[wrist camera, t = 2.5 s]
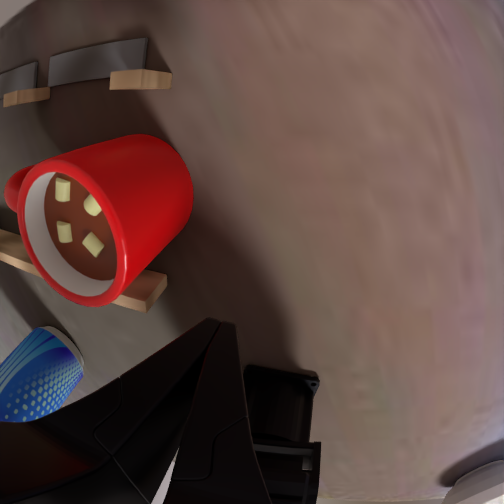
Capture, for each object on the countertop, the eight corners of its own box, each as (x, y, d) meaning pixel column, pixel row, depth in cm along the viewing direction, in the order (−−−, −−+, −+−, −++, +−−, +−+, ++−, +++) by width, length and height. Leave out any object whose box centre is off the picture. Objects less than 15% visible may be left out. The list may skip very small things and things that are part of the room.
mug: (64, 115, 18) (-20, 136, 11) (206, 150, 17) (136, 184, 10) (58, 208, 21) (-10, 250, 15) (181, 259, 21) (124, 331, 14)
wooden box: (176, 35, 14) (131, 18, 10) (167, 285, 22) (136, 327, 18) (-15, 81, 17) (-53, 89, 12) (-2, 235, 25) (-32, 255, 21)
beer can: (31, 313, 30) (-46, 394, 16) (76, 332, 28) (-8, 435, 14) (52, 359, 34) (-9, 437, 20) (96, 380, 32) (34, 473, 18)
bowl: (524, 458, 29) (531, 489, 21) (450, 495, 38) (452, 526, 30) (516, 439, 26) (526, 480, 18) (422, 485, 34) (424, 525, 27)
